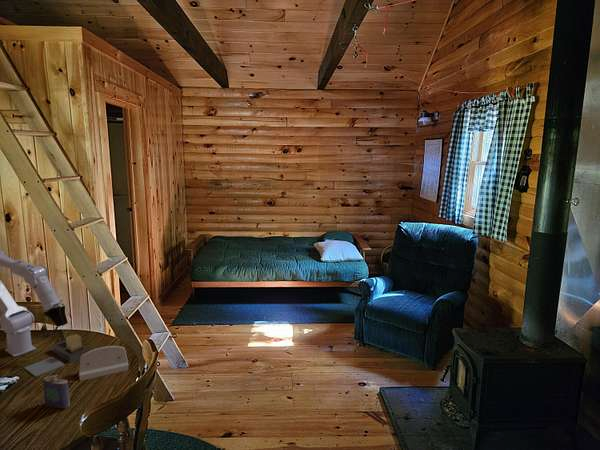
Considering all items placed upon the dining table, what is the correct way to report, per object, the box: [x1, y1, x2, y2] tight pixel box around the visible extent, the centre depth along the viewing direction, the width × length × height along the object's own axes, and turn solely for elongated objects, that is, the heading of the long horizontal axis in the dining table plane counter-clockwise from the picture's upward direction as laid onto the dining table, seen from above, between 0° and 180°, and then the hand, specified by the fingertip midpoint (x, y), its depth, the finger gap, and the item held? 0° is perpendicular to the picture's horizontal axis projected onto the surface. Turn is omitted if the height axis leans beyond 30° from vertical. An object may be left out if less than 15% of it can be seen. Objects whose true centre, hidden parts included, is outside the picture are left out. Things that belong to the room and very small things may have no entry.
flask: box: [42, 373, 71, 410], centre depth 122 cm, size 9×3×11 cm, turn 74°
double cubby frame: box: [50, 339, 91, 363], centre depth 156 cm, size 16×8×2 cm, turn 56°
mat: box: [23, 356, 66, 378], centre depth 145 cm, size 10×10×1 cm
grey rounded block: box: [78, 345, 129, 382], centre depth 143 cm, size 17×5×10 cm, turn 118°
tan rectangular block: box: [65, 333, 83, 354], centre depth 154 cm, size 4×4×8 cm
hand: (63, 325), depth 148 cm, fingers open, 7 cm apart
